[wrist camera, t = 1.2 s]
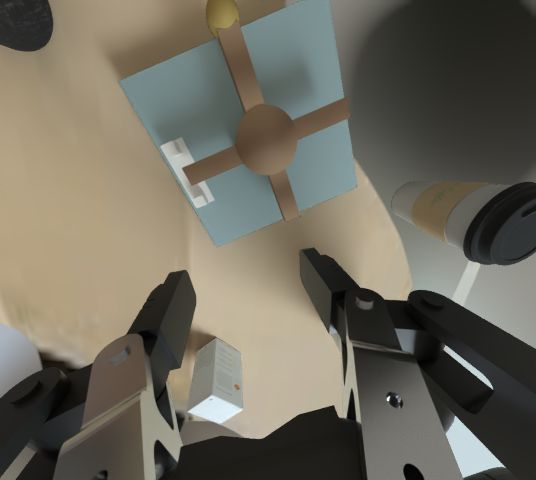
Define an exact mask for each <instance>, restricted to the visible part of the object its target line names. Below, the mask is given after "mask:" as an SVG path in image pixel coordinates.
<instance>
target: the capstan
mask: <svg viewBox="0 0 536 480" xmlns="http://www.w3.org/2000/svg"><path fill="white" fill-rule="evenodd" d="M206 19H207V23H208V27H209V29H210V31H211V33H212V34H213V35H214V37H215V38H216V39H218V43H219V45H220V48H221V51H222V54H223V56H224V59H225V62H226V65H227V67H228V70H229V73H230V75H231V78H232V81H233V84H234V86H235V89H236V92H237V95H238V97H239V100H240V103H241V105H242V108H243V111H244V114H245V115H244V116H243V118H242V119H241V121H240V123H239V125H238V128H237V132H236V139H235V145H234V146H231V147H229V148H227V149H224V150H222V151H220V152H218V153H215V154H213V155H211V156H208V157H206V158H204V159H201V160H199V161H197V162H194V163H192V164H190V165H188V166H185V167H183V168H182V170H183V172H184V173H185V175H186V177H187V179H188V180H189V182H190V184H191V186H193V185H195V184H198V183H200V182H202V181H205V180H207V179H209V178H212V177H214V176H216V175H219V174H221V173H223V172H226V171H228V170H230V169H232V168H235V167H237V166H239V165H242V164H245V165H246V166H247V167H248V168H249V169H250V170H252V171H253V172H255V173H258V174H261V175H267V176H268V179H269V182H270V184H271V187H272V190H273V193H274V195H275V198H276V201H277V204H278V206H279V209H280V212H281V214H282V217H283V219H284V220H285V221H286V222H288V221H290V220H292V219H295V218H297V217H299V216H300V213H299V210H298V207H297V204H296V201H295V198H294V194H293V191H292V188H291V185H290V182H289V179H288V175H287V172H286V169H285V168H286V167H287V166H288V165H289V164H290V163H291V161H292V160H293V158H294V156H295V153H296V149H297V141H298V140H300V139H302V138H304V137H307V136H309V135H311V134H314V133H316V132H318V131H320V130H323V129H325V128H327V127H330V126H332V125H334V124H337V123H339V122H341V121H344V120H346V119H348V118H350V112H349V105H348V100H347V97H344V98H342V99H340V100H338V101H335V102H333V103H331V104H328V105H326V106H324V107H321V108H319V109H317V110H314V111H312V112H310V113H308V114H305V115H303V116H301V117H298V118H296V119H294V120H292V119H291V118H290V116H289V115H288V114H287V113H286V112H285V111H283V110H282V109H280V108H278V107H276V106H273V105H265V103H264V100H263V97H262V94H261V90H260V87H259V84H258V81H257V78H256V75H255V71H254V68H253V65H252V62H251V59H250V56H249V53H248V49H247V46H246V43H245V40H244V37H243V34H242V30H241V27H240V16H239V11H238V8H237V5H236V3H235V2H234V0H208V2H207V6H206Z"/></svg>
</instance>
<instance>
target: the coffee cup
mask: <svg viewBox="0 0 536 480" xmlns="http://www.w3.org/2000/svg"><path fill="white" fill-rule="evenodd" d="M391 207H392V210H393V212H394V213H395V214H396V215H398V216H399V217H401V218H403V219H405V220H407V221H409V222H411V223H412V224H414V225H415V226H416V227H418V228H419V229H421V230H423V231H425V232H427V233H429V234H430V235H432V236H434V237H436V238H438V239H440V240H441V241H443V242H445V243H447V244H449V245H451V246H454V247H457V248H459V249H461V250H463V251H464V254H465V256H466V257H467V258H468V259H469V260H470V261H473V262H478V263H480V264H485V265H490V264H498V265H511V264H515V263H518V262H520V261H522V260H524V259H526V258H528V257H529V256H531V255H532V254H534V253H535V252H536V183H533V182H523V183H519V184H516V185H498V184H494V183H470V182H409V183H406V184H405V185H403V186H402V187H400V188H399V189H398V190H397V191H396V192H395V194H394V196H393V198H392V202H391Z"/></svg>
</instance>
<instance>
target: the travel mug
mask: <svg viewBox="0 0 536 480" xmlns="http://www.w3.org/2000/svg"><path fill="white" fill-rule="evenodd" d="M52 30H53V18H52V12H51V9H50V5H49V2H48V0H0V44H1V45H4V46H6V47H9V48H11V49H15V50H19V51H36V50H39V49H41V48H42V47H44V46H45V45H46V44H47V43H48V41H49V40H50V37H51V35H52Z"/></svg>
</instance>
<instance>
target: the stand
mask: <svg viewBox="0 0 536 480" xmlns="http://www.w3.org/2000/svg"><path fill="white" fill-rule="evenodd" d="M241 30H242V34H243V37H244V40H245V43H246V46H247V49H248V53H249V56H250V59H251V62H252V65H253V68H254V71H255V75H256V78H257V81H258V84H259V87H260V90H261V94H262V97H263V100H264V103H265V105H273V106H276V107H278V108H280V109H282V110H283V111H285V112H286V113H287V114H288V115H289V116H290V118H291V119H292V120H294V119H296V118H298V117H301V116H303V115H305V114H308V113H310V112H312V111H314V110H317V109H319V108H321V107H324V106H326V105H328V104H331V103H333V102H335V101H338V100H340V99H342V98H344V94H343V88H342V81H341V74H340V67H339V61H338V54H337V47H336V42H335V35H334V28H333V21H332V15H331V8H330V1H329V0H301V1H299V2H297V3H294V4H292V5H290V6H287V7H285V8H283V9H281V10H278V11H276V12H274V13H272V14H269V15H267V16H265V17H263V18H260V19H258V20H256V21H254V22H251V23H249V24H247V25H245V26H242V27H241ZM118 83H119V84H120V86H121V88H122V89H123V91H124V93H125V94H126V96H127V98H128V99H129V101H130V103H131V104H132V106H133V108H134V110H135V111H136V113H137V115H138V116H139V118H140V120H141V121H142V123H143V125H144V126H145V128H146V130H147V131H148V133H149V135H150V136H151V138H152V140H153V141H154V143H155V145H156V147H157V148H158V150H159V152H160V153H161V155H162V157H163V158H164V160H165V162H166V163H167V165H168V167H169V168H170V170H171V172H172V173H173V175H174V177H175V178H176V180H177V182H178V183H179V185H180V187H181V189H182V190H183V192H184V194H185V195H186V197H187V199H188V200H189V202H190V204H191V205H192V207H193V209H194V210H195V212H196V214H197V215H198V217H199V219H200V220H201V222H202V224H203V226H204V227H205V229H206V231H207V232H208V234H209V236H210V237H211V239H212V241H213V242H214V244H215V246H216V247H219V246H221V245H223V244H226V243H228V242H230V241H233V240H235V239H237V238H240V237H242V236H244V235H247V234H249V233H251V232H254V231H256V230H258V229H261V228H263V227H265V226H268V225H270V224H272V223H275V222H277V221H280V220H282V219H283V217H282V214H281V212H280V209H279V206H278V204H277V201H276V198H275V195H274V193H273V190H272V187H271V184H270V182H269V179H268V176H267V175H261V174H258V173H255V172H253V171H252V170H250V169H249V168H248V167H247V166H246V165H245V164H242V165H239V166H237V167H235V168H232V169H230V170H228V171H226V172H223V173H221V174H219V175H216V176H214V177H212V178H209V179H207V180H205V181H202V182H200V183H198V184H195V185H193V186H191V184H190V182H189V180H188V179H187V177H186V175H185V173H184V172H183V170H182V168H183V167H185V166H188V165H190V164H192V163H194V162H197V161H199V160H201V159H204V158H206V157H208V156H211V155H213V154H215V153H218V152H220V151H222V150H224V149H227V148H229V147H231V146H234V145H235V139H236V132H237V128H238V125H239V123H240V121H241V119H242V118H243V116H244V115H245V114H244V111H243V108H242V105H241V103H240V100H239V97H238V95H237V92H236V89H235V86H234V84H233V81H232V78H231V75H230V73H229V70H228V67H227V65H226V62H225V59H224V56H223V54H222V51H221V48H220V45H219V43H218V39H216V38H215V39H213V40H211V41H208V42H206V43H204V44H202V45H199V46H197V47H195V48H192V49H190V50H188V51H186V52H183V53H181V54H179V55H177V56H174V57H172V58H170V59H168V60H165V61H163V62H161V63H159V64H156V65H154V66H152V67H150V68H147V69H145V70H143V71H140V72H138V73H136V74H134V75H131V76H129V77H127V78H125V79H122V80H120V81H118ZM285 169H286V172H287V175H288V179H289V182H290V185H291V188H292V191H293V194H294V198H295V201H296V204H297V207H298V210H299V212H301V211H303V210H305V209H308V208H310V207H312V206H315V205H317V204H319V203H322V202H324V201H326V200H329V199H331V198H333V197H336V196H338V195H340V194H343V193H345V192H348V191H350V190H352V189H355V188H357V180H356V173H355V167H354V160H353V154H352V147H351V141H350V134H349V127H348V121H347V119H346V120H344V121H341V122H339V123H337V124H334V125H332V126H330V127H327V128H325V129H323V130H320V131H318V132H316V133H314V134H311V135H309V136H307V137H304V138H302V139H300V140H298V141H297V149H296V153H295V156H294V158H293V160H292V161H291V163H290V164H289V165H288V166H287V167H286V168H285Z"/></svg>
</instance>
